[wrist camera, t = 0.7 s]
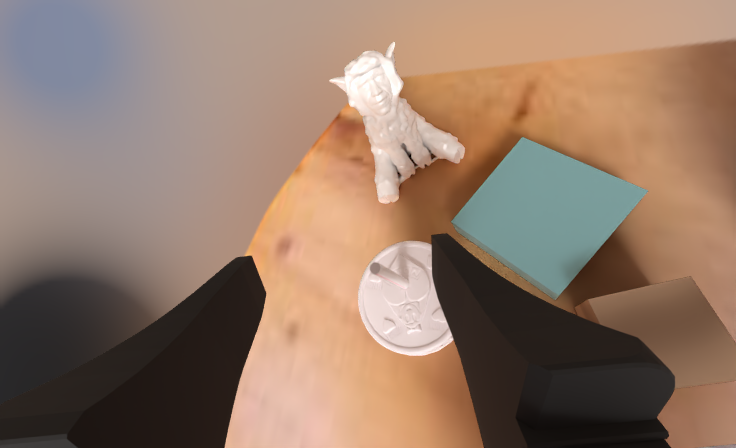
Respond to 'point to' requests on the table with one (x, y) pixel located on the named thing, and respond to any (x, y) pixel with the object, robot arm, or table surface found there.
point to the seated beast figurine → (392, 123)
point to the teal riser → (545, 214)
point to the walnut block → (671, 329)
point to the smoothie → (403, 300)
